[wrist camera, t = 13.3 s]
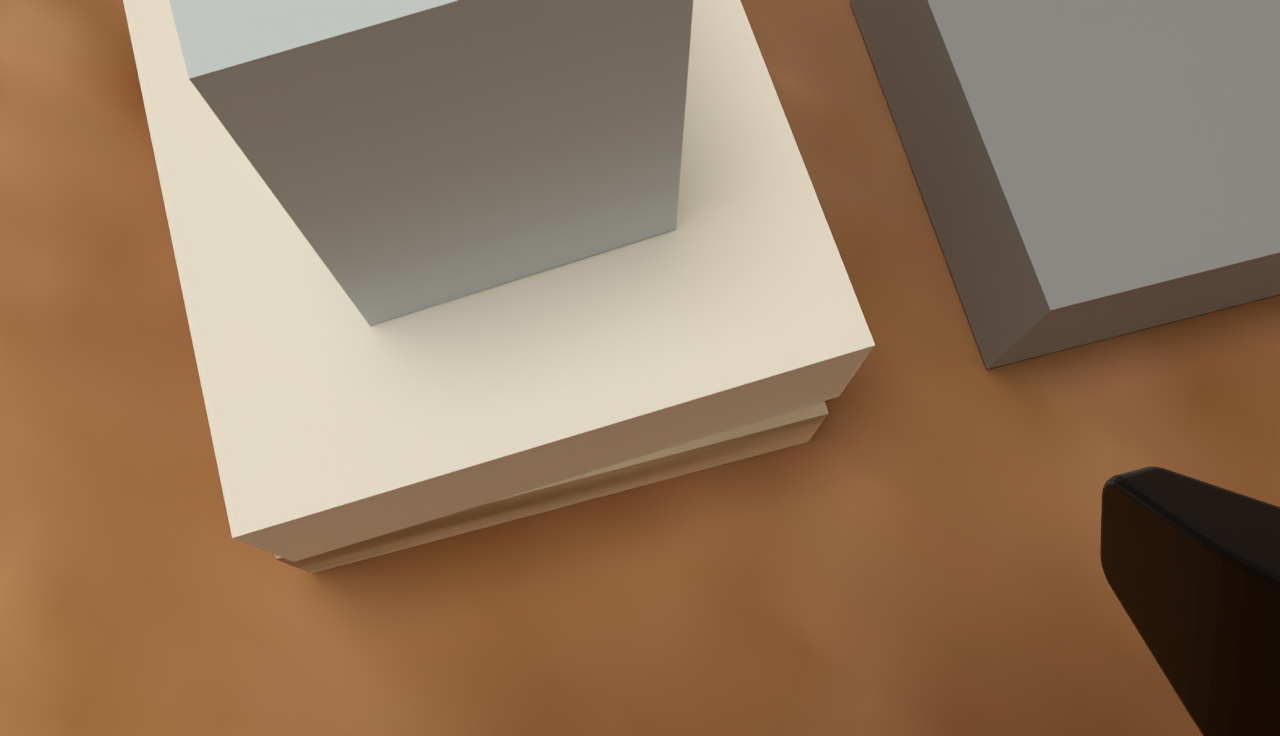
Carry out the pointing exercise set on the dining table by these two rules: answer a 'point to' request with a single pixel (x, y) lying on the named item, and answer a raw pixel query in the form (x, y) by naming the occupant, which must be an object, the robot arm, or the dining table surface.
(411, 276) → the blue-grey block
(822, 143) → the dining table surface
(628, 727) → the dining table surface
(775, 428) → the oak slab
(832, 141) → the dining table surface
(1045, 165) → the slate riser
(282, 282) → the cream slab
